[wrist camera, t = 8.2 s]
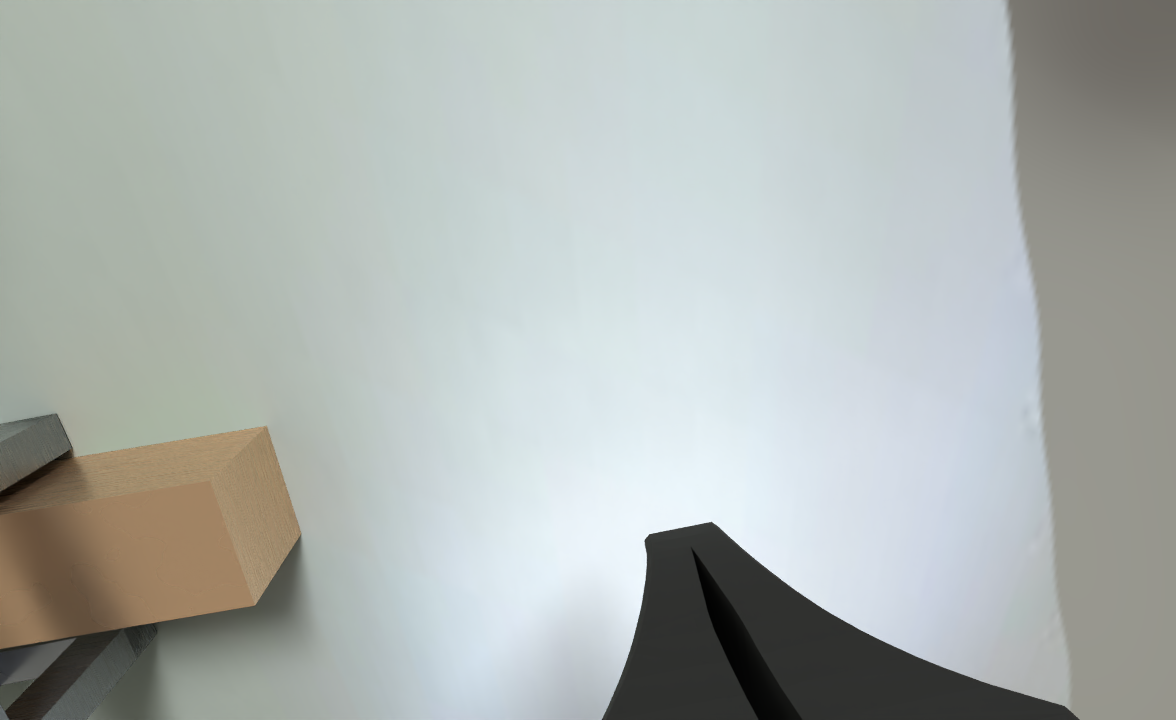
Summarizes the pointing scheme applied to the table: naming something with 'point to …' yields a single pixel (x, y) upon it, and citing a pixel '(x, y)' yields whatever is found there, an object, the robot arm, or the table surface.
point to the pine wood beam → (142, 536)
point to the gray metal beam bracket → (69, 665)
